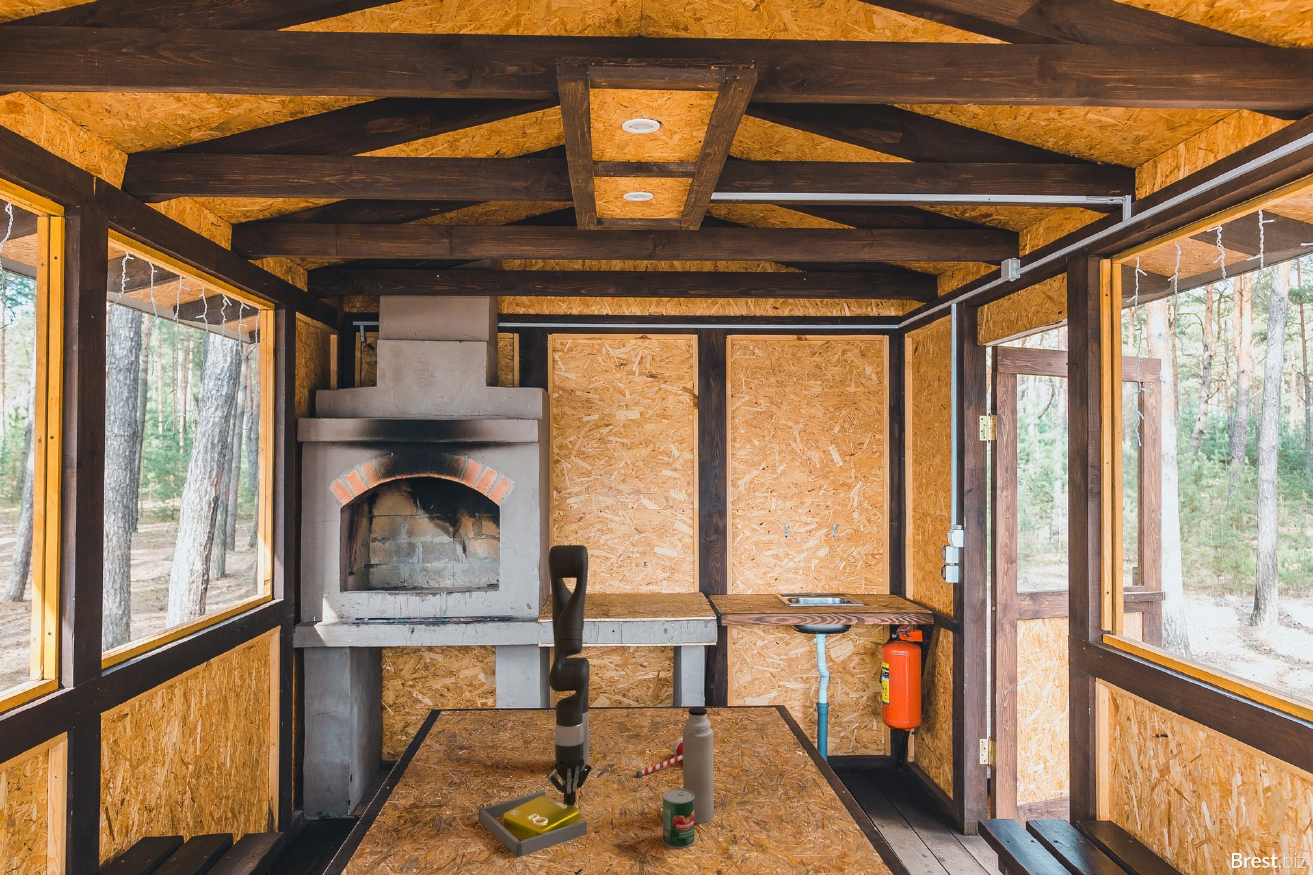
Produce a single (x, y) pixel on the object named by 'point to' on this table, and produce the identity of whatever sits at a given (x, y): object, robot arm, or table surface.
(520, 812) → the element tile
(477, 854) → the table surface
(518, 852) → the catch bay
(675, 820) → the canned tomato
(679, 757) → the toy hammer
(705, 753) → the thermos bottle
